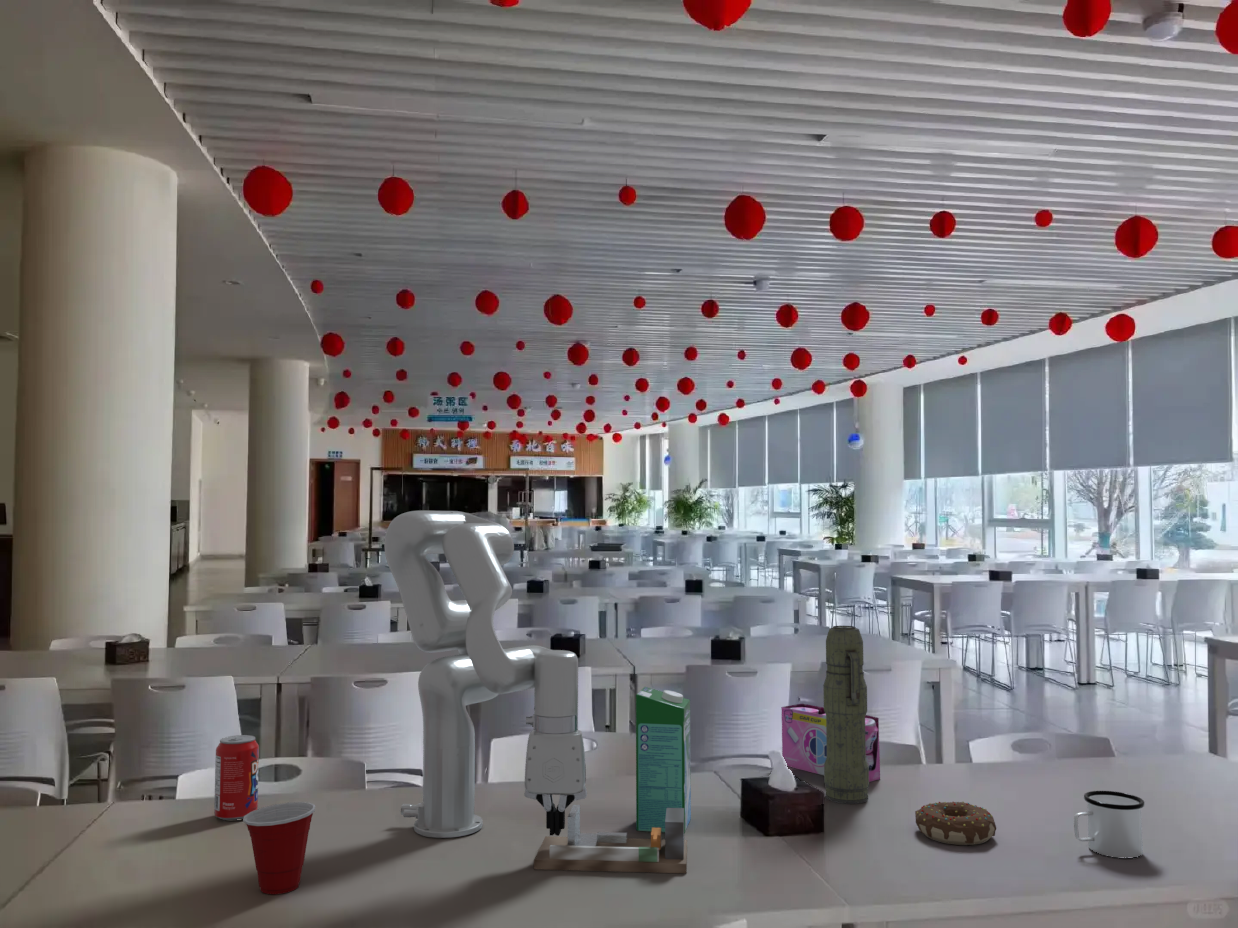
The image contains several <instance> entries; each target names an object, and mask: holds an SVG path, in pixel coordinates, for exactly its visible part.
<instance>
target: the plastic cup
mask: <svg viewBox="0 0 1238 928" xmlns="http://www.w3.org/2000/svg"><path fill="white" fill-rule="evenodd" d="M315 810H316V804H314V803H313V802H308V801H307V802H305V801H291V802H290V801H289V802H282V803H277V804H276V803H275V804H272V805H267V806H263V807H260V808H258V809H257V810H254V811H252V812H250V813H248V814H247V815H245V816H244V818H243V820H242V821H243V823H244V824H245V825H246V827H247V830H248V832H249V837H250V840H251V845H252V846H251V847H252V854H253V858H254V863H255V869H256V871H257V872H256V873H257V879H258V887H259V889H260V892H262V893H263V894H265V895H281V894H282V895H283V894H286V893H290V892H294V891H295V890H297V888H299V886H300V885H299V884H300V882H301V876H302V871H303V866H304V862H305V857H306V849H307V846H308V845H307V844H308V840H309V839H308V838H309V832H310V829H311V822H312V817H313V815H314V813H315Z"/></svg>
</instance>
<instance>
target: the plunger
mask: <svg viewBox="0 0 1238 928" xmlns="http://www.w3.org/2000/svg"><path fill="white" fill-rule="evenodd" d="M567 837H568V846H598V843H599V842H605V843H626V842H627V838H628V832H613V831H611V832H609V831H606V832H605V831H603V832H602V831H598V832H597V833H592V832H591V833H590V832H588V833H587V832H586V833H585V832H581V805H580V804H572V806H571V809H570V811H569V813H568V814H567Z"/></svg>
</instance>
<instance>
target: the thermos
mask: <svg viewBox="0 0 1238 928" xmlns="http://www.w3.org/2000/svg"><path fill="white" fill-rule="evenodd" d="M825 664H826V670H825V676H826V677H825V680H824V682H823V685H822V687H823V707H824V711H825V714H826V738H827V758H826V761H825V763H824V775H823V776H824V783H823V784H824V786H825V798H826V799H827V800H828V801H831V802H834V803H835V802H836V803H840V804H855V805H856V804H863V803H866V802H867V801H868V800H869V787H870V782H869V766H868V763H867V761H866V741H865V716H866V715H867V713H868V685H867V684H866V680H865V674H864V671H863V670H864V669H863V666H864V640H863V637H862V633H861V630H860V629H859V628H858V627H857V628H856V626H853V625H833V626H832V627H829V629H828V632H827V636H826V639H825Z"/></svg>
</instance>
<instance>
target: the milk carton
mask: <svg viewBox="0 0 1238 928" xmlns="http://www.w3.org/2000/svg"><path fill="white" fill-rule="evenodd" d="M691 768H692V767H691V700H690V699H688V698H685V697H684V695H683V694H682V693H679V692H677V691H673V690H670V689H669V690H668V689H664V690H663V691H661V690H659V689H658V690H657V689H656V688H655V689H654V688H651V687H648V686H644V687H643V688H642V689H641V690H639V691H638V692H637V693H636V695H635V789H636V790H635V796H636V797H635V799H636V800H635V807H636V808H635V819H636V821H635V822H636V824H635V825H636V826H635V827H636V829H635V830H636V831H639V832H650V833H651V831H652V828H661V833H665V818H666V809H667V808H684V834H685V833H686V831H687V828H688V826H689V824H690V822H691V819H692V814H691V813H692V812H691V810H692V808H691V807H692V803H691V802H692V801H691V800H692V792H691V791H692V789H691V786H692V785H691V783H692V779H691V776H692V775H691V774H692V773H691Z"/></svg>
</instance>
